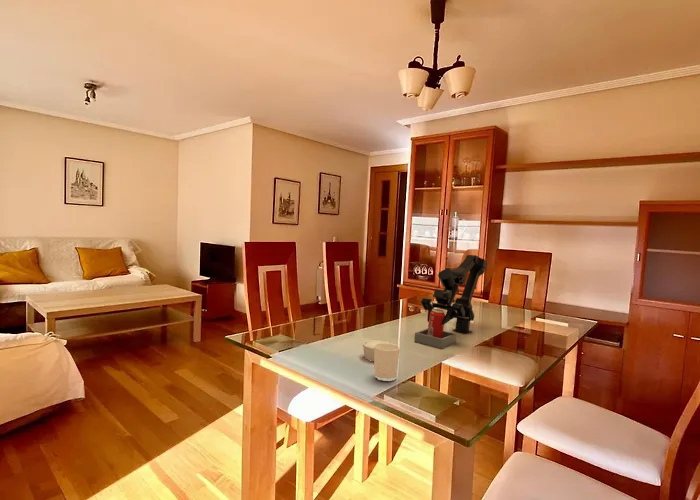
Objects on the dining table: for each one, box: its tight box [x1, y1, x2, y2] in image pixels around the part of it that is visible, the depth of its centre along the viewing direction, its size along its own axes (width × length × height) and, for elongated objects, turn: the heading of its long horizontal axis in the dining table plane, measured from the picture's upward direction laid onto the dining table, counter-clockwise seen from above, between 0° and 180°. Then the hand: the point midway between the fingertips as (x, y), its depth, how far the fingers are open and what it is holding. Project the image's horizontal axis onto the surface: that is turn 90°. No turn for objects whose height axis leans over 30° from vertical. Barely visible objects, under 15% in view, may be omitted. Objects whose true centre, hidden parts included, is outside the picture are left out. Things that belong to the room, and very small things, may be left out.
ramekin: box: [362, 339, 393, 362], centre depth 136 cm, size 11×11×5 cm
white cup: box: [373, 342, 401, 379], centre depth 117 cm, size 8×8×10 cm
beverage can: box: [427, 308, 446, 338], centre depth 159 cm, size 6×6×12 cm
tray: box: [414, 328, 457, 350], centre depth 159 cm, size 13×13×4 cm
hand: (435, 323), depth 158 cm, fingers closed on beverage can, 6 cm apart
